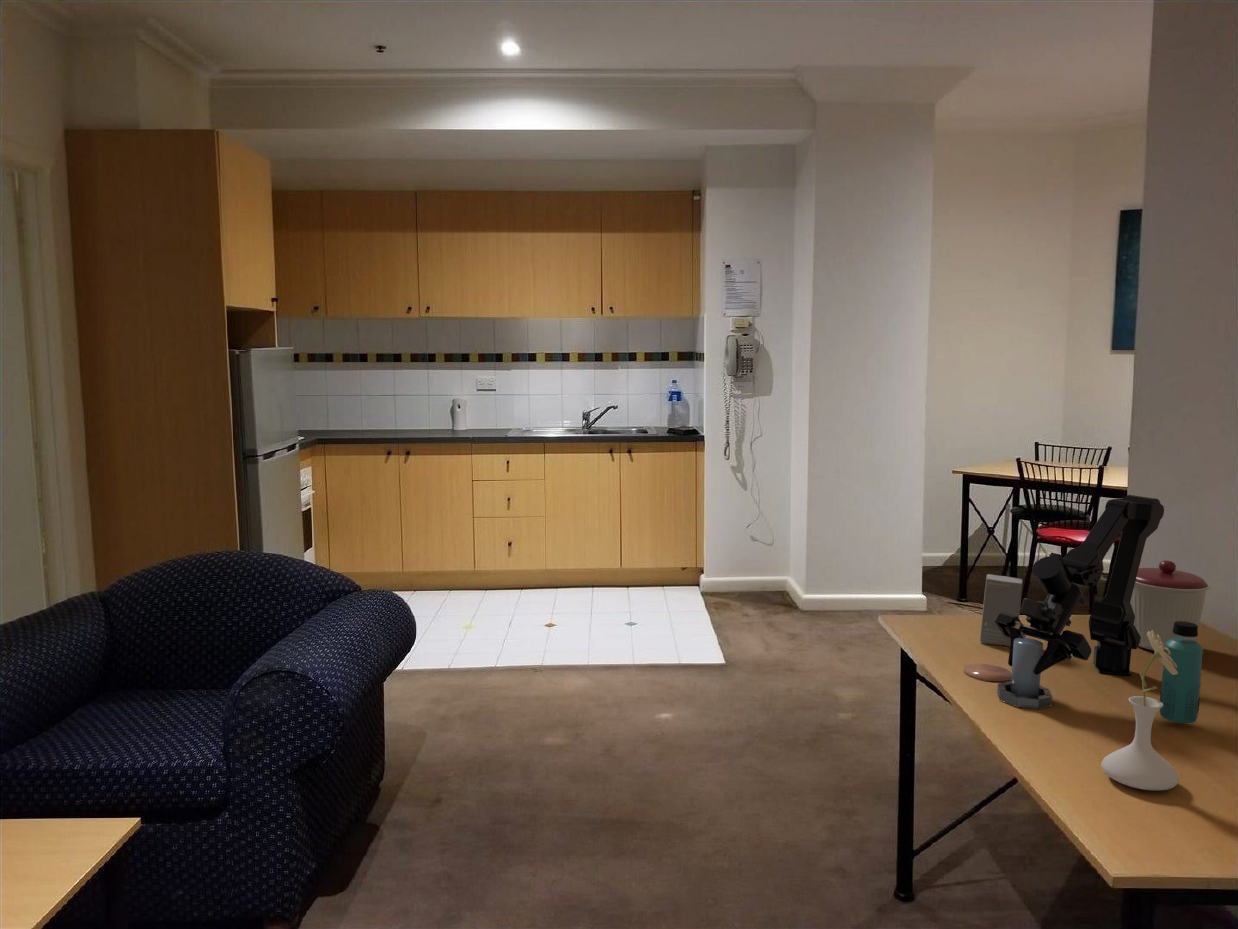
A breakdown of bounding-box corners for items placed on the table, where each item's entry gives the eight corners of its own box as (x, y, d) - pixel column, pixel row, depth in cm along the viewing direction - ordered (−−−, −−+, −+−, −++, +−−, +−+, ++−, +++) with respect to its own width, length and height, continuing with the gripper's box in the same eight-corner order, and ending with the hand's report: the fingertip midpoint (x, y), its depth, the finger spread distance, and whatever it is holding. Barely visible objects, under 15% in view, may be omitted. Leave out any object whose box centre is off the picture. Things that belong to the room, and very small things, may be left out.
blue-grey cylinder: (1036, 696, 198) (1040, 639, 196) (1040, 705, 192) (1044, 647, 191) (1008, 693, 199) (1012, 636, 197) (1011, 702, 194) (1015, 644, 192)
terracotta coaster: (1009, 668, 214) (1009, 666, 214) (1015, 684, 204) (1015, 681, 204) (961, 664, 217) (961, 661, 217) (965, 679, 207) (965, 676, 207)
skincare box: (979, 643, 231) (984, 579, 229) (980, 635, 238) (985, 572, 236) (1018, 648, 228) (1022, 583, 226) (1017, 639, 235) (1022, 576, 233)
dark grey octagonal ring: (1046, 693, 199) (1046, 684, 199) (1054, 711, 190) (1054, 701, 189) (995, 688, 202) (996, 679, 201) (1000, 705, 192) (1001, 695, 192)
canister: (1206, 644, 234) (1214, 559, 231) (1201, 664, 219) (1210, 573, 216) (1122, 630, 244) (1130, 548, 241) (1112, 649, 229) (1120, 562, 226)
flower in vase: (1176, 804, 152) (1191, 651, 149) (1096, 786, 158) (1109, 638, 155) (1179, 773, 163) (1194, 630, 160) (1104, 757, 169) (1117, 618, 166)
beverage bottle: (1202, 733, 180) (1213, 629, 178) (1163, 729, 182) (1173, 626, 179) (1189, 719, 187) (1199, 619, 184) (1152, 716, 188) (1161, 616, 185)
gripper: (1002, 574, 202) (966, 634, 198) (1088, 595, 187) (1051, 660, 182) (1022, 605, 208) (987, 664, 203) (1107, 628, 193) (1071, 692, 188)
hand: (1022, 669), depth 194 cm, fingers closed on blue-grey cylinder, 5 cm apart
